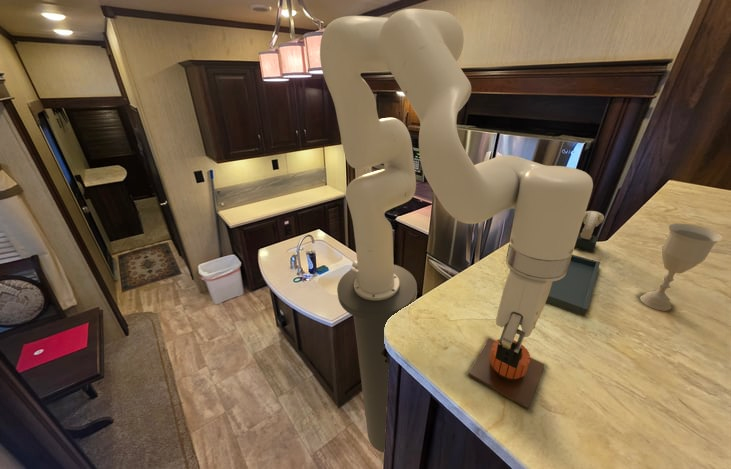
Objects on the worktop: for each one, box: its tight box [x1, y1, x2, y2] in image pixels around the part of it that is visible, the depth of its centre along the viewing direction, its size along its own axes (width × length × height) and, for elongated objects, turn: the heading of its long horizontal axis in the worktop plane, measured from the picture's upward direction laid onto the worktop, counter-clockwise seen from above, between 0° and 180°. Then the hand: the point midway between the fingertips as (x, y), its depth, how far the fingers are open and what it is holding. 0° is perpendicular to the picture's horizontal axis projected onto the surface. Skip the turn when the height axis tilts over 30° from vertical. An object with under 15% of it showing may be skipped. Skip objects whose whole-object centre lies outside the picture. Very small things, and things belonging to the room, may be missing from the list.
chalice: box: [639, 223, 723, 312], centre depth 60 cm, size 7×7×18 cm
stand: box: [467, 337, 545, 410], centre depth 51 cm, size 10×10×6 cm
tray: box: [545, 254, 601, 317], centre depth 73 cm, size 16×22×2 cm
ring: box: [490, 338, 531, 379], centre depth 51 cm, size 6×6×3 cm
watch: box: [574, 210, 605, 254], centre depth 83 cm, size 6×8×11 cm
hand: (515, 342), depth 48 cm, fingers open, 9 cm apart
